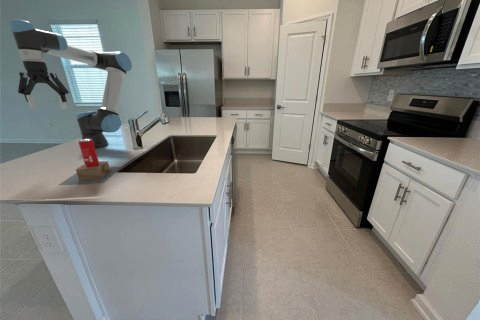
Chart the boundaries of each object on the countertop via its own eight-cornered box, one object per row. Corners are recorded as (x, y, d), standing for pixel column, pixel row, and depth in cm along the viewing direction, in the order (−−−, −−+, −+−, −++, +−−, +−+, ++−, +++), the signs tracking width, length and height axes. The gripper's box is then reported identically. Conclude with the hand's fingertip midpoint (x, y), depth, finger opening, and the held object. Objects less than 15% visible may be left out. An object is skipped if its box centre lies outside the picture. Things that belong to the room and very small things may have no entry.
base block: (90, 171, 97) (87, 161, 95) (110, 170, 98) (107, 161, 96) (78, 179, 89) (75, 169, 87) (100, 178, 90) (97, 168, 88)
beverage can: (83, 165, 91) (75, 140, 86) (95, 162, 95) (88, 137, 91) (89, 168, 89) (82, 142, 84) (101, 164, 93) (95, 139, 88)
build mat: (84, 169, 101) (83, 168, 101) (121, 167, 103) (121, 166, 103) (58, 186, 84) (58, 185, 84) (104, 184, 86) (103, 183, 86)
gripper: (-6, 59, 85) (14, 109, 93) (58, 61, 88) (72, 109, 96) (10, 61, 92) (27, 108, 100) (69, 62, 95) (81, 107, 103)
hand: (49, 109), depth 98 cm, fingers open, 13 cm apart
